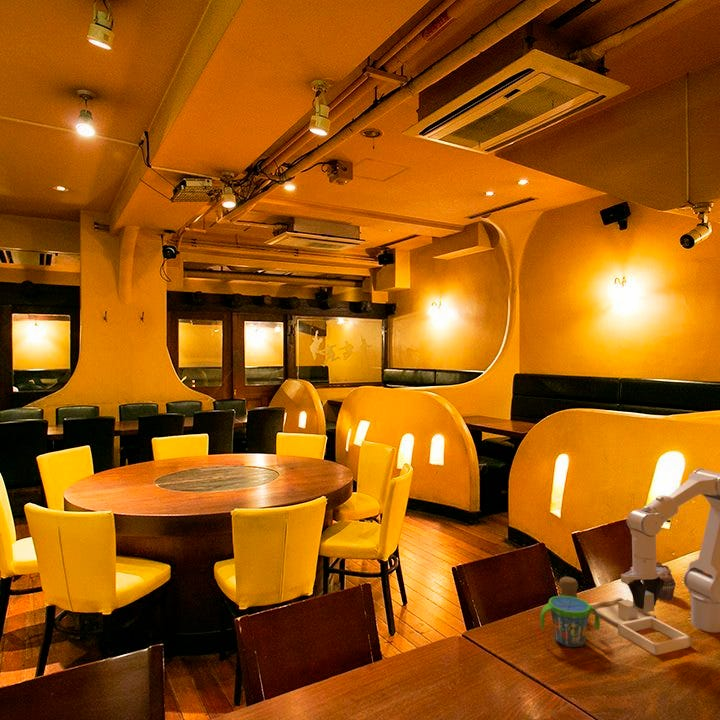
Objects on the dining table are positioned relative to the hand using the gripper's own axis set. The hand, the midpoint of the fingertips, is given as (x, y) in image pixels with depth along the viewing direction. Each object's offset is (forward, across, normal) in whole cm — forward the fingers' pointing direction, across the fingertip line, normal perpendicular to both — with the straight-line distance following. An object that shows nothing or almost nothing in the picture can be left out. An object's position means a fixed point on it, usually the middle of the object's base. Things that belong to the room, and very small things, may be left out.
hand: (645, 606), depth 143 cm
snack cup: (+9, +20, -6) cm, 23 cm away
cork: (+9, +10, -18) cm, 23 cm away
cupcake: (+9, -26, -19) cm, 34 cm away
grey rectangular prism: (+1, 0, 0) cm, 1 cm away
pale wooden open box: (+9, 0, +2) cm, 9 cm away
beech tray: (+9, -3, -12) cm, 15 cm away
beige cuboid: (+8, -3, -9) cm, 12 cm away
